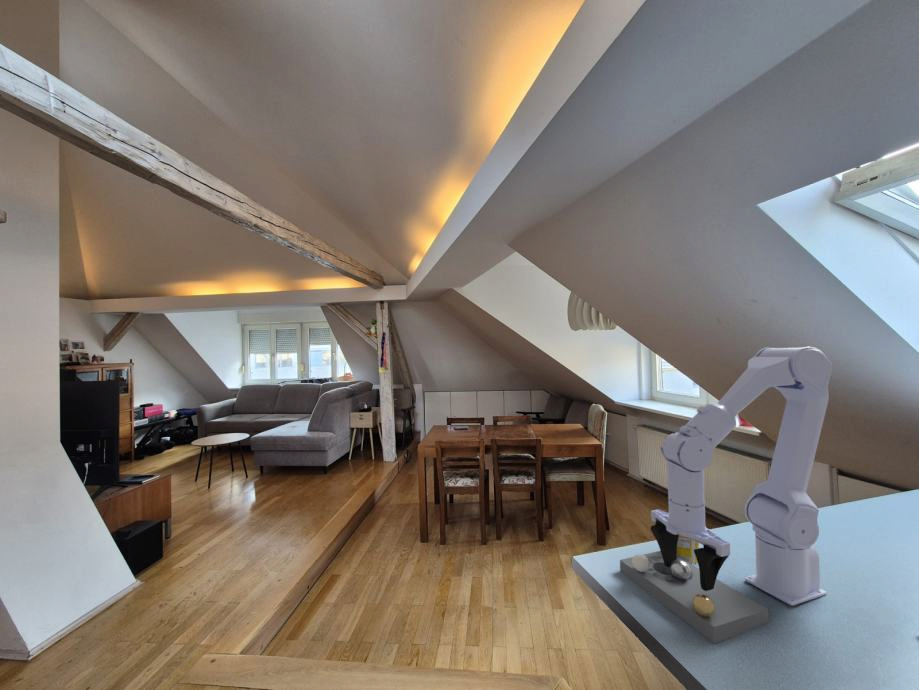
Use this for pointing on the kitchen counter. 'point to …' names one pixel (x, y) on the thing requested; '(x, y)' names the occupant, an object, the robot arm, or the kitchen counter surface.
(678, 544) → the supplement bottle
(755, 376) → the robot arm
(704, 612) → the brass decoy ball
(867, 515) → the kitchen counter surface
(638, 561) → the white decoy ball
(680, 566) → the steel ball
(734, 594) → the plate
